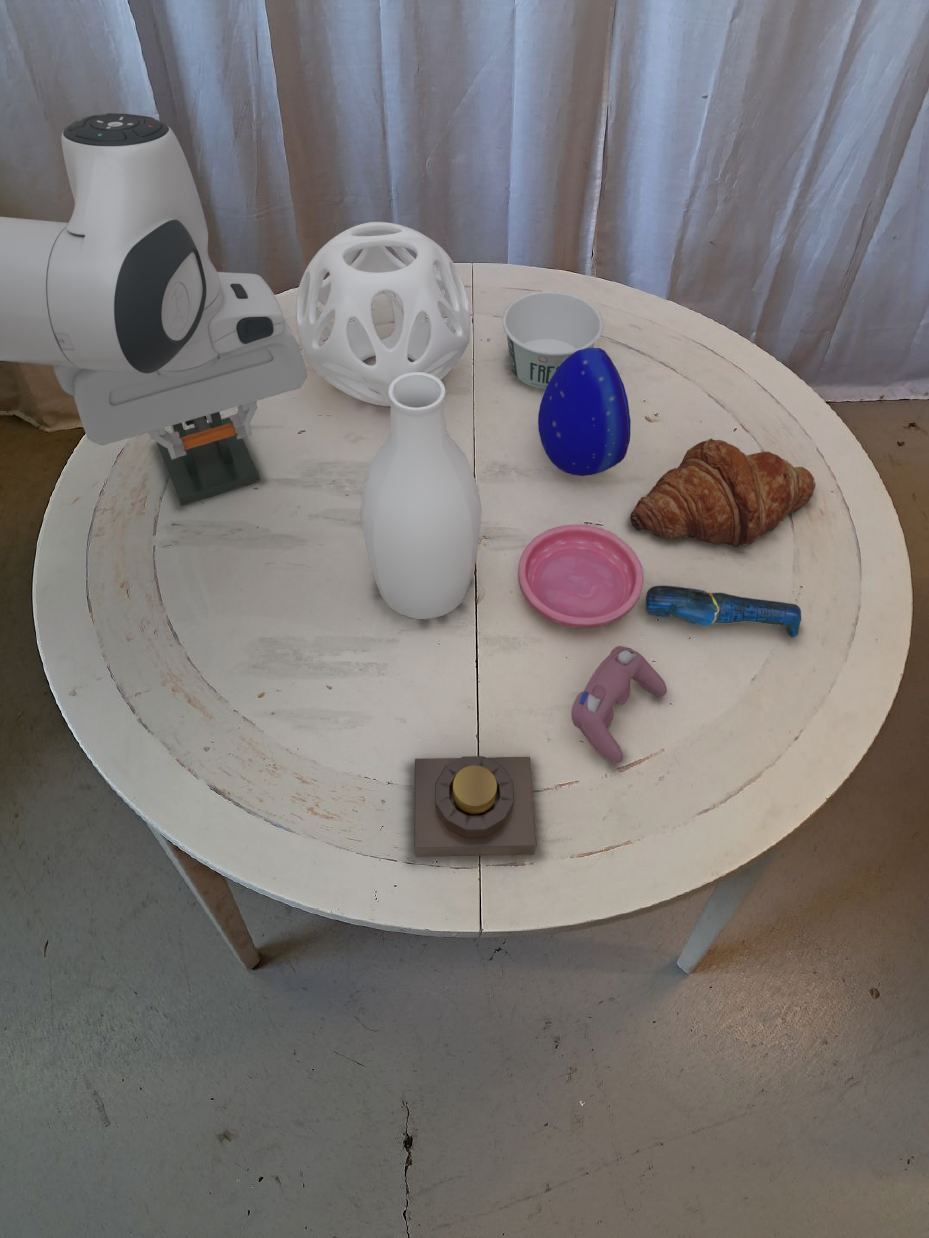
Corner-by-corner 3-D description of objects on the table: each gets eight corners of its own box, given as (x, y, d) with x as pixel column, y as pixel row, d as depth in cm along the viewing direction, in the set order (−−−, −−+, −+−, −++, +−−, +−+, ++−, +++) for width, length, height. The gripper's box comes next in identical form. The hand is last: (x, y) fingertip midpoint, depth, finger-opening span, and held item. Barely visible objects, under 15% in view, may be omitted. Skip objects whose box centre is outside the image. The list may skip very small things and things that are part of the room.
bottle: (367, 547, 93) (344, 347, 72) (473, 540, 93) (480, 341, 73) (370, 634, 86) (346, 443, 65) (483, 627, 87) (495, 436, 66)
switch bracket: (260, 480, 98) (243, 413, 90) (180, 505, 96) (156, 439, 88) (233, 423, 103) (215, 355, 95) (157, 446, 101) (132, 378, 93)
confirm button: (453, 814, 72) (453, 806, 71) (452, 774, 74) (452, 765, 73) (497, 813, 72) (498, 805, 71) (495, 773, 74) (495, 764, 73)
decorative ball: (481, 426, 103) (487, 296, 89) (311, 442, 101) (289, 312, 87) (456, 321, 115) (457, 190, 100) (302, 333, 113) (281, 202, 98)
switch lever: (238, 442, 85) (231, 418, 83) (187, 457, 83) (178, 433, 82) (215, 409, 95) (208, 388, 94) (170, 423, 94) (162, 401, 93)
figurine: (791, 620, 89) (641, 604, 90) (801, 589, 87) (647, 573, 88) (799, 649, 85) (642, 632, 87) (809, 617, 83) (648, 601, 84)
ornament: (633, 485, 98) (660, 378, 86) (557, 504, 96) (574, 398, 84) (593, 420, 104) (613, 311, 92) (521, 437, 102) (531, 329, 90)
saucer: (552, 658, 85) (556, 639, 82) (495, 566, 91) (497, 546, 89) (661, 614, 88) (668, 595, 86) (599, 528, 95) (603, 508, 92)
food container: (576, 328, 114) (583, 283, 109) (609, 388, 108) (618, 344, 102) (487, 343, 112) (489, 298, 107) (516, 405, 106) (519, 360, 100)
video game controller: (630, 681, 86) (612, 629, 81) (672, 691, 83) (655, 638, 78) (578, 756, 81) (555, 704, 77) (620, 770, 78) (599, 717, 74)
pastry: (690, 436, 103) (706, 382, 96) (816, 490, 98) (842, 437, 92) (624, 527, 95) (637, 475, 88) (758, 590, 90) (783, 540, 84)
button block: (415, 857, 74) (413, 839, 70) (415, 769, 78) (414, 748, 75) (534, 854, 74) (538, 837, 71) (528, 767, 78) (531, 747, 75)
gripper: (53, 378, 69) (109, 499, 80) (301, 311, 74) (321, 433, 85) (38, 331, 72) (94, 454, 83) (277, 270, 77) (299, 393, 89)
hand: (210, 443), depth 85 cm, fingers closed on switch lever, 5 cm apart
